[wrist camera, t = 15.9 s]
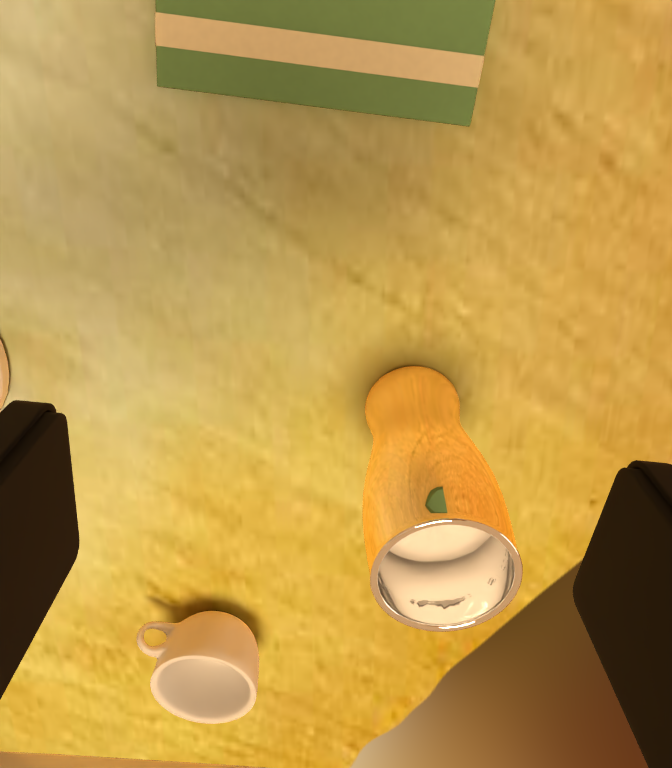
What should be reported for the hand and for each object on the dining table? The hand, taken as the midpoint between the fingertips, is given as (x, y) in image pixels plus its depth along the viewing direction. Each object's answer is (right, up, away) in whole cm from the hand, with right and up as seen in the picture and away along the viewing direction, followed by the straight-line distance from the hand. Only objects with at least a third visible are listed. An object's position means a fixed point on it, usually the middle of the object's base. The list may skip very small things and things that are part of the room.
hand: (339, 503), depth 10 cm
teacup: (-11, -17, +39) cm, 44 cm away
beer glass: (+5, +1, +29) cm, 29 cm away
